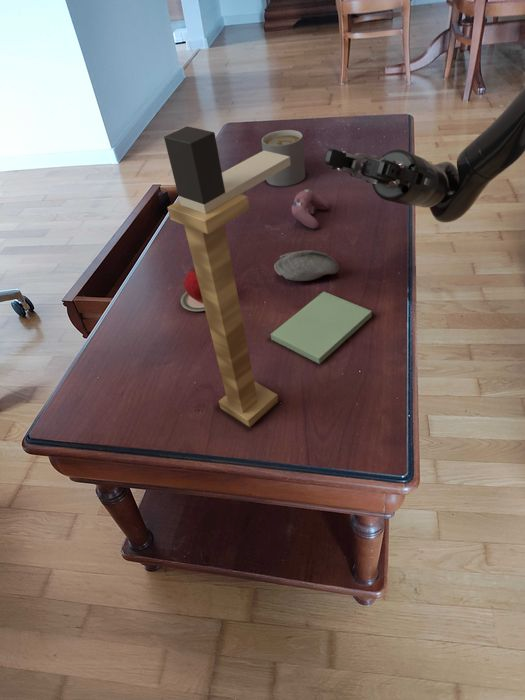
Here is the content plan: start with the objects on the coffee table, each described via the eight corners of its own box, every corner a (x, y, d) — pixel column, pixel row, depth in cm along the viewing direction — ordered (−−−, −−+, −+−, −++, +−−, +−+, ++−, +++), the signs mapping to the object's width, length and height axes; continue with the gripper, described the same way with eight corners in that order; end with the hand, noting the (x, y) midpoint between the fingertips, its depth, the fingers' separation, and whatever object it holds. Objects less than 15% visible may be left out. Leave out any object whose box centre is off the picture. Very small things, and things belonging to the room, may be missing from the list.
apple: (176, 296, 97) (167, 266, 92) (215, 282, 98) (209, 253, 94) (189, 318, 91) (180, 288, 87) (230, 303, 93) (224, 273, 88)
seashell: (340, 261, 99) (339, 238, 95) (338, 286, 93) (337, 263, 89) (279, 262, 101) (276, 239, 98) (273, 286, 95) (270, 263, 92)
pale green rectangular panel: (371, 316, 85) (371, 310, 84) (319, 364, 78) (319, 358, 78) (323, 296, 91) (323, 291, 90) (271, 339, 84) (270, 334, 83)
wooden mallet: (290, 165, 57) (285, 98, 53) (205, 214, 51) (190, 143, 46) (264, 158, 60) (256, 94, 55) (180, 205, 53) (163, 136, 48)
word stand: (278, 401, 74) (247, 196, 53) (249, 427, 71) (205, 221, 50) (248, 383, 77) (208, 184, 56) (220, 408, 74) (166, 206, 53)
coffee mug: (304, 184, 125) (301, 143, 119) (264, 187, 127) (259, 147, 120) (306, 162, 135) (304, 123, 129) (269, 165, 137) (264, 126, 130)
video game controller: (313, 213, 117) (298, 187, 114) (330, 206, 114) (315, 179, 111) (301, 236, 110) (284, 208, 107) (319, 228, 108) (302, 200, 105)
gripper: (375, 147, 84) (319, 125, 72) (456, 163, 76) (409, 141, 64) (361, 193, 87) (305, 179, 75) (439, 213, 79) (390, 201, 66)
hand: (353, 162), depth 69 cm, fingers open, 8 cm apart
